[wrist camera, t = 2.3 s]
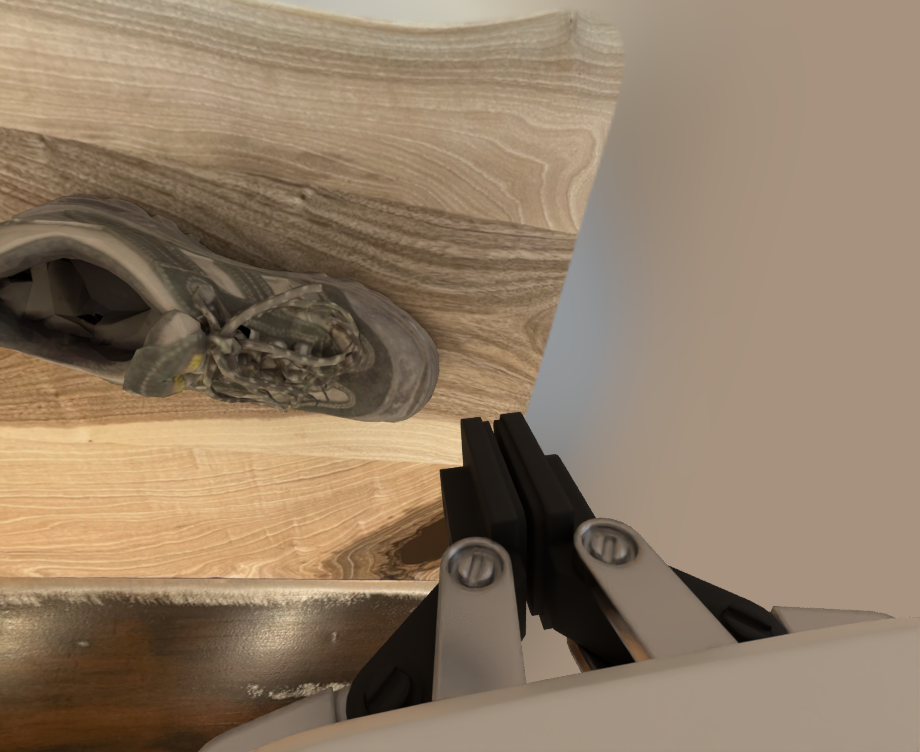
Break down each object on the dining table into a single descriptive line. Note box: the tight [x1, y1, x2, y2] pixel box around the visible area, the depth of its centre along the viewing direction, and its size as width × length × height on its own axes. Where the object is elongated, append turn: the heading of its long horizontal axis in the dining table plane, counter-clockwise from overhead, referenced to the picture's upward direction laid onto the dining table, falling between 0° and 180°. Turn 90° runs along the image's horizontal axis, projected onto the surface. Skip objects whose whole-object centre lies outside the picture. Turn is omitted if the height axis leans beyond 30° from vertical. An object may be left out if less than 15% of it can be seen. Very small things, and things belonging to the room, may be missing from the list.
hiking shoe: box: [0, 194, 439, 423], centre depth 21 cm, size 9×21×12 cm, turn 67°
